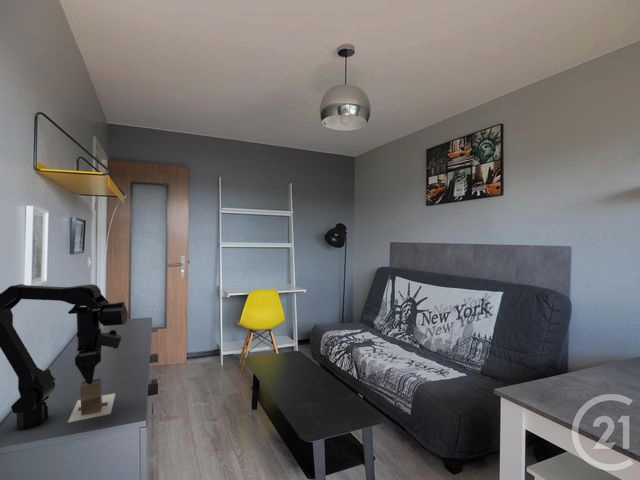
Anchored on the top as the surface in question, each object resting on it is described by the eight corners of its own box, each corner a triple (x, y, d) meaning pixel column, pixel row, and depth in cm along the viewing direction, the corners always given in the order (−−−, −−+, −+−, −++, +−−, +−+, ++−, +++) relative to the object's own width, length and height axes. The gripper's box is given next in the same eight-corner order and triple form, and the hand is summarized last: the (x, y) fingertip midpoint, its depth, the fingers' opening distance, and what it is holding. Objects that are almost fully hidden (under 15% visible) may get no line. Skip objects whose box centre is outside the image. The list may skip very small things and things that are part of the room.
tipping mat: (110, 416, 112) (110, 410, 112) (67, 425, 107) (67, 419, 107) (115, 395, 128) (115, 390, 128) (78, 402, 123) (77, 397, 123)
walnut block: (100, 411, 114) (99, 382, 114) (81, 415, 111) (80, 386, 111) (102, 406, 117) (100, 378, 117) (83, 410, 115) (82, 381, 115)
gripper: (120, 329, 106) (122, 382, 106) (118, 318, 122) (119, 364, 123) (73, 335, 101) (75, 392, 101) (78, 323, 117) (80, 372, 117)
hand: (90, 379), depth 110 cm, fingers open, 9 cm apart
